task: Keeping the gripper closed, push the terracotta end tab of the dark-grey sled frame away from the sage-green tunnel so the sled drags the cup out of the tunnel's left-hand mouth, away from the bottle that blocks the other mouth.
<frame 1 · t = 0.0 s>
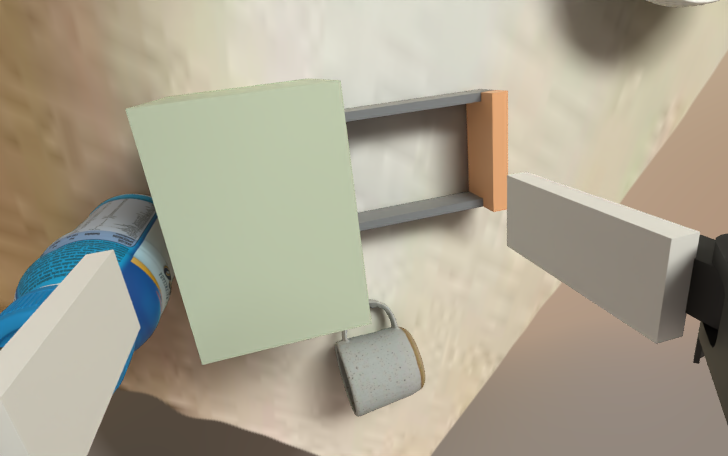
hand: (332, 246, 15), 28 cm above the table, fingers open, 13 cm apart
ceramic mug: (365, 337, 50), on the table
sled: (357, 172, 40), point 3 cm above the table, slide at 0.0 cm
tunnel: (260, 181, 41), on the table
beverage bottle: (139, 234, 40), on the table
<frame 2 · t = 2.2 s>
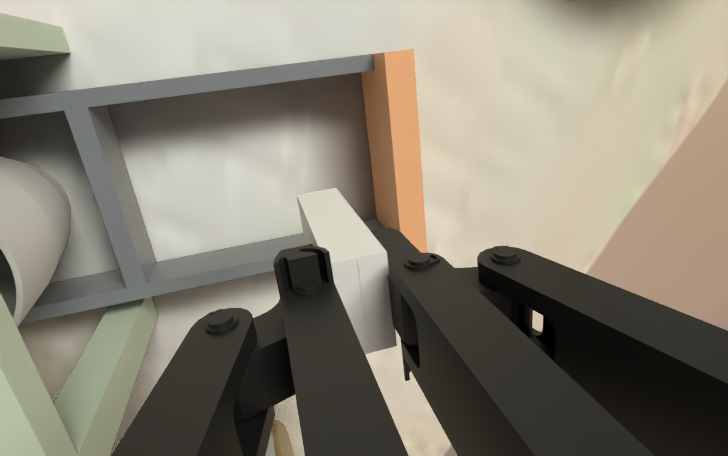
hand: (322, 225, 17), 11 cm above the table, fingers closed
ceramic mug: (228, 432, 33), on the table
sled: (157, 193, 23), point 3 cm above the table, slide at 0.0 cm
cup: (20, 204, 24), resting in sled
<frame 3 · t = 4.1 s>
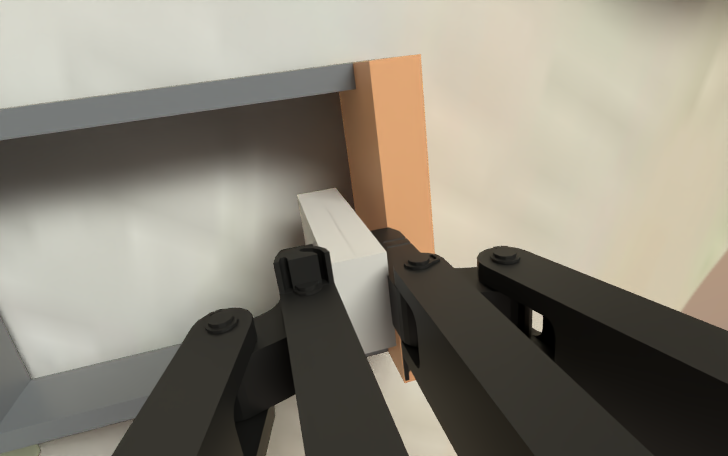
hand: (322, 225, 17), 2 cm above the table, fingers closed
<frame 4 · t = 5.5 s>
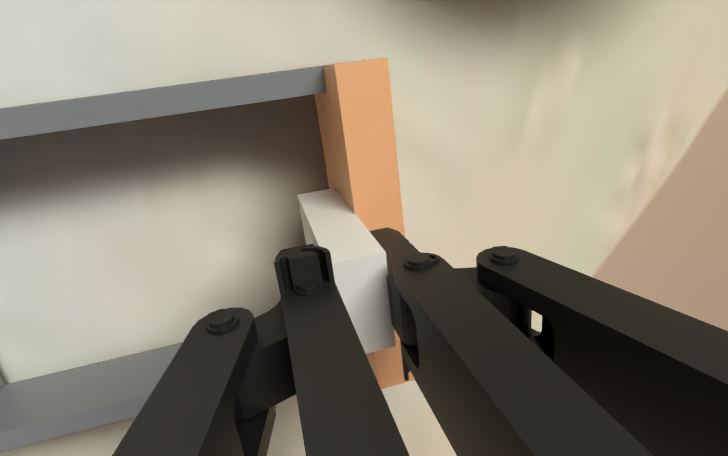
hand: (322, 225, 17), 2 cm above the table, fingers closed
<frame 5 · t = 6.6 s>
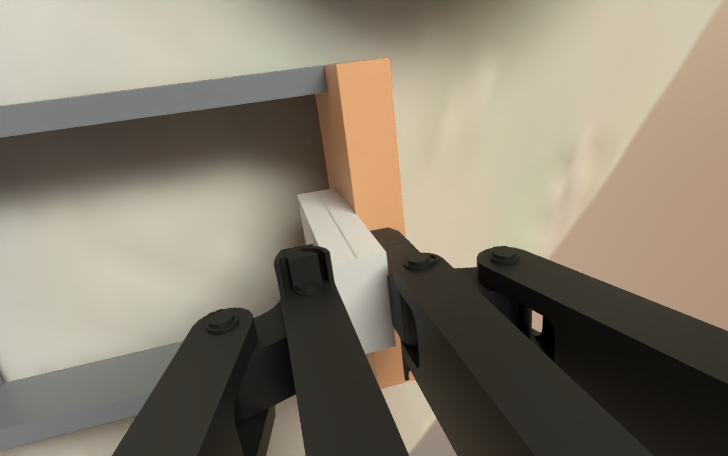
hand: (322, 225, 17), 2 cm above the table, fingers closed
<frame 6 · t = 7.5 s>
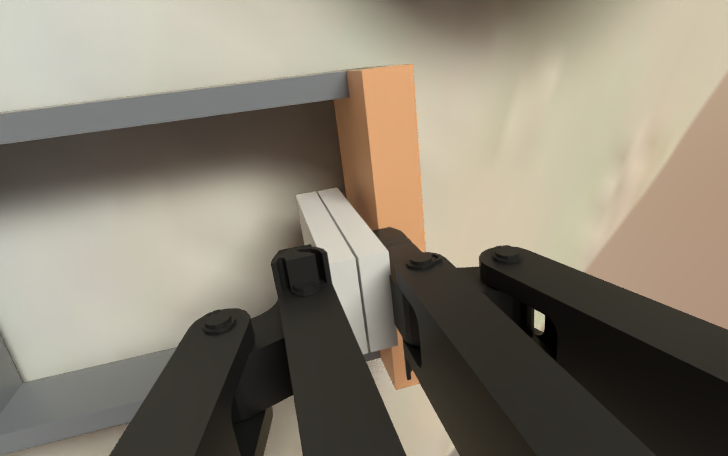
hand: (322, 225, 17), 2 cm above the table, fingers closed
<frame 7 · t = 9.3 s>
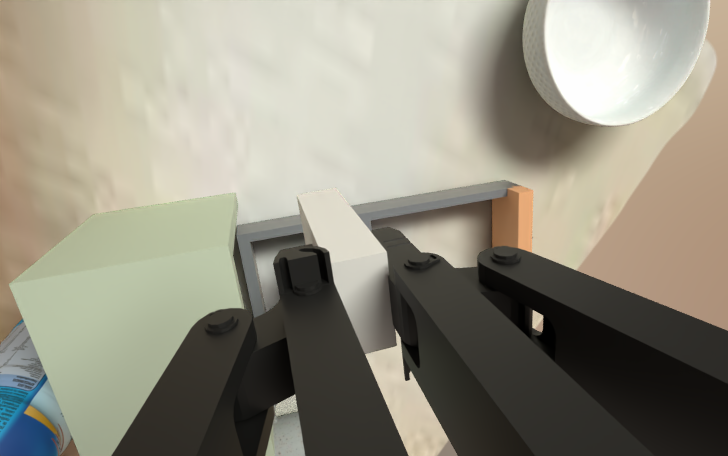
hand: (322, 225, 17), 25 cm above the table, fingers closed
ceramic mug: (299, 412, 50), on the table
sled: (391, 261, 43), point 3 cm above the table, slide at 10.6 cm
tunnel: (188, 288, 42), on the table
cereal bowl: (573, 34, 44), on the table
beverage bottle: (66, 341, 41), on the table
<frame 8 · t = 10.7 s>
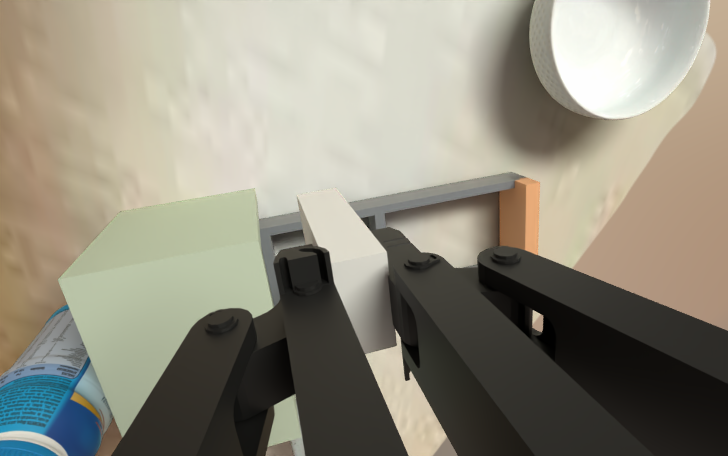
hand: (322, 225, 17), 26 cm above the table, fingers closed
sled: (404, 252, 45), point 3 cm above the table, slide at 10.6 cm
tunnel: (211, 280, 44), on the table
cereal bowl: (577, 29, 45), on the table
beverage bottle: (96, 332, 43), on the table
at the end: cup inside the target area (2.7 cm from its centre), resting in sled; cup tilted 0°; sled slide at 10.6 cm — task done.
